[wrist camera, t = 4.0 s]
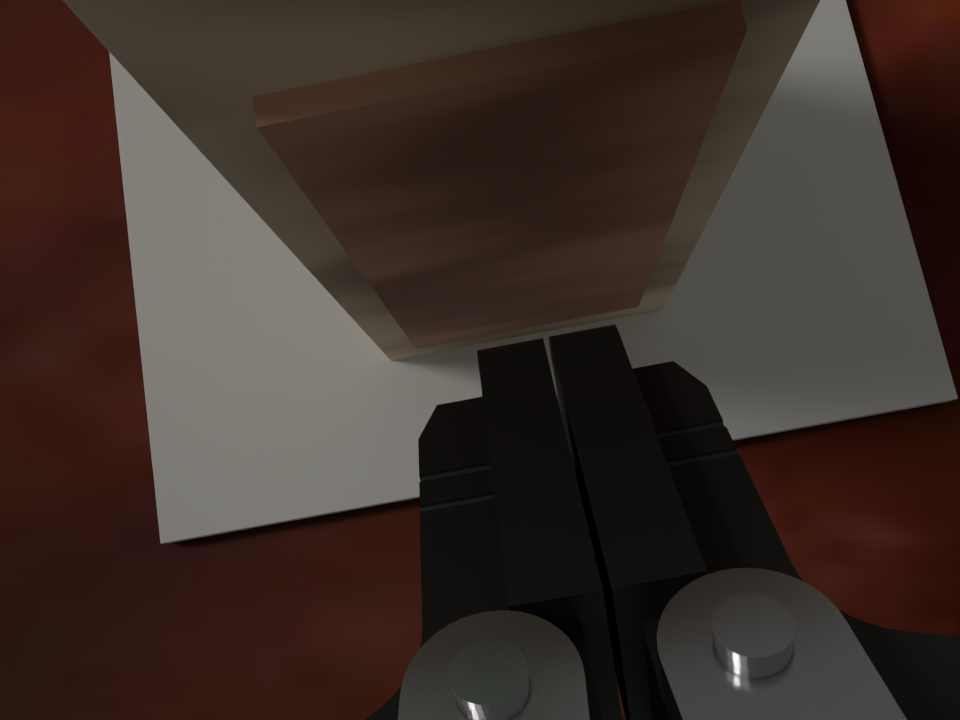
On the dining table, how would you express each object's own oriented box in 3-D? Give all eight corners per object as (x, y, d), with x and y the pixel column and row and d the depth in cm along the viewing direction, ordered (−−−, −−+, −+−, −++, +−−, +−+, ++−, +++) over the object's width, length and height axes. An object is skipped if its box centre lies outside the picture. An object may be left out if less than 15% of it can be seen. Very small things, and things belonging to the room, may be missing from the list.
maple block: (392, 373, 20) (51, 22, 6) (350, 109, 21) (-12, -668, 8) (666, 322, 20) (932, -160, 6) (607, 58, 21) (718, -841, 7)
